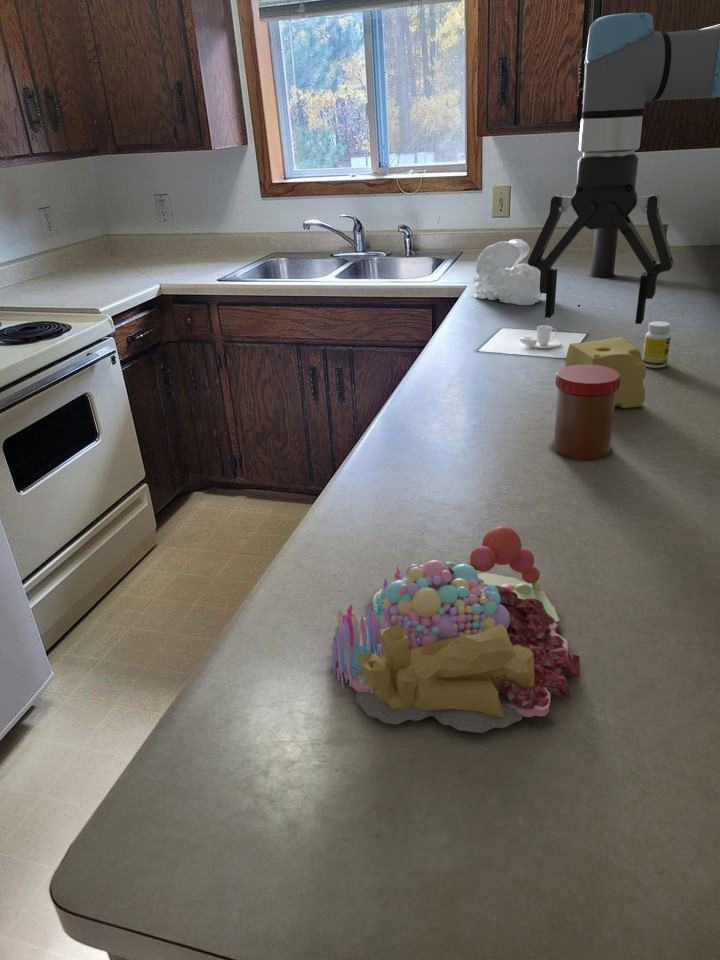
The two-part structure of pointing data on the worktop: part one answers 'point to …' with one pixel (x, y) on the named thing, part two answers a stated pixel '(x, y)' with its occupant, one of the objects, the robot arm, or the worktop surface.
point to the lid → (588, 380)
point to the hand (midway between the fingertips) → (593, 318)
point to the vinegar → (604, 252)
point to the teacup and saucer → (532, 342)
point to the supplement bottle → (657, 344)
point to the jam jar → (583, 425)
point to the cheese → (614, 366)
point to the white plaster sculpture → (507, 274)
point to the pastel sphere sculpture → (458, 643)
